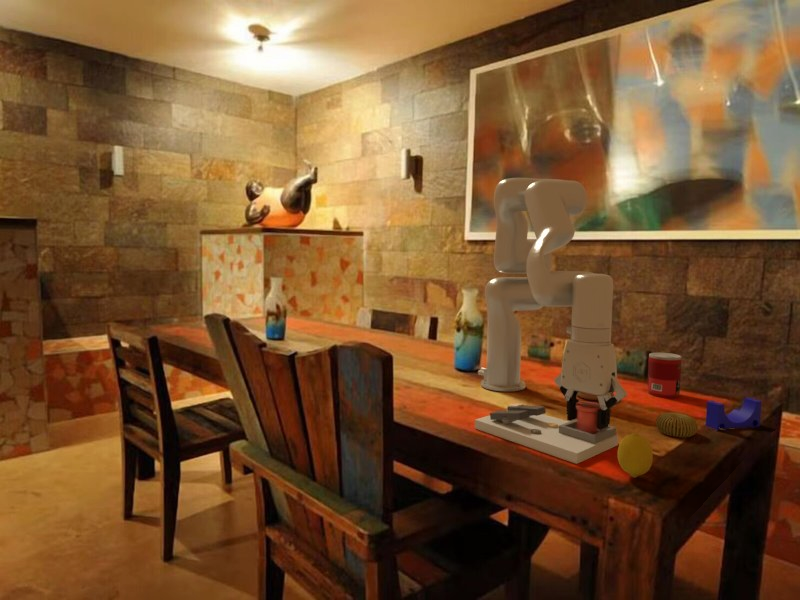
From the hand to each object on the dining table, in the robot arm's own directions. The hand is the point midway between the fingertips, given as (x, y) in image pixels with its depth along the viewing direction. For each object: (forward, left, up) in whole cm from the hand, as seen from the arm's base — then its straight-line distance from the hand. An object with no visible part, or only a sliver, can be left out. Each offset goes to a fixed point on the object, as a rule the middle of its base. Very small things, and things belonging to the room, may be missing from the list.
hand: (587, 422), depth 106 cm
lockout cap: (0, 0, -2) cm, 2 cm away
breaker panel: (-8, -4, -4) cm, 10 cm away
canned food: (-7, +50, -5) cm, 51 cm away
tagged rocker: (-14, -2, -2) cm, 14 cm away
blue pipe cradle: (+14, +35, -5) cm, 39 cm away
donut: (-18, +33, -5) cm, 38 cm away
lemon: (+14, -9, -5) cm, 17 cm away
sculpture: (+9, +21, -5) cm, 23 cm away
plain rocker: (-14, -7, -2) cm, 16 cm away
